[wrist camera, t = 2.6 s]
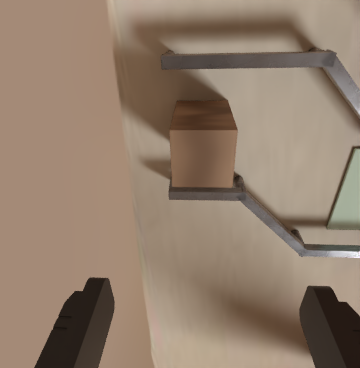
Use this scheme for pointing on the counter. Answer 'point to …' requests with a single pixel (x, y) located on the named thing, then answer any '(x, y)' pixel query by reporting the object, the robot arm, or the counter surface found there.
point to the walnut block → (203, 144)
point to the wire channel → (170, 60)
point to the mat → (348, 198)
